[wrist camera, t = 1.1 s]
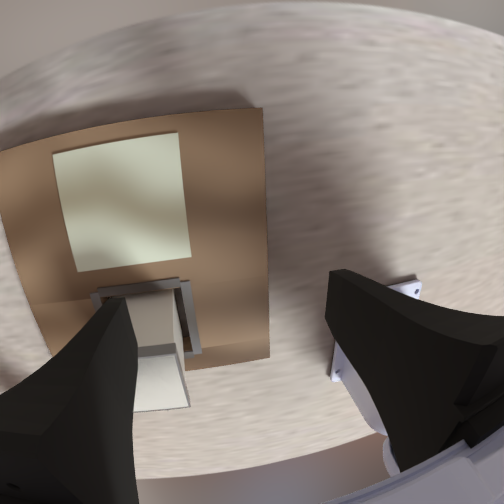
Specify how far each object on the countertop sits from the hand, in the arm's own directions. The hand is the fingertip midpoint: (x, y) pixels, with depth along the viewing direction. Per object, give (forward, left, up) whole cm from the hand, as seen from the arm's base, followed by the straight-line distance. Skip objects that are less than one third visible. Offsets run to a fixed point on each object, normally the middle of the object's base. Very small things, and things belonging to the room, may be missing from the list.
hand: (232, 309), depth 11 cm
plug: (-6, +5, -10) cm, 12 cm away
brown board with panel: (-2, +5, -10) cm, 11 cm away
